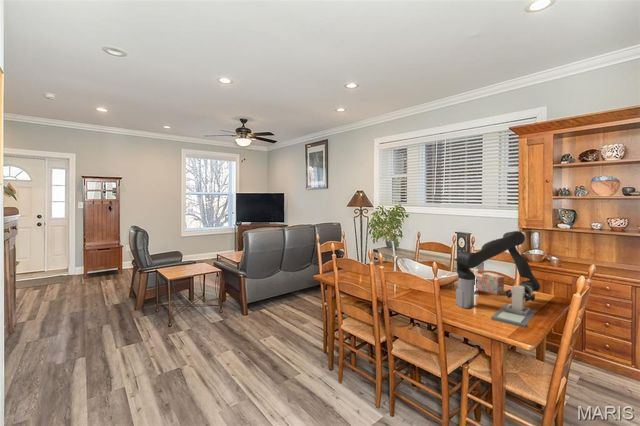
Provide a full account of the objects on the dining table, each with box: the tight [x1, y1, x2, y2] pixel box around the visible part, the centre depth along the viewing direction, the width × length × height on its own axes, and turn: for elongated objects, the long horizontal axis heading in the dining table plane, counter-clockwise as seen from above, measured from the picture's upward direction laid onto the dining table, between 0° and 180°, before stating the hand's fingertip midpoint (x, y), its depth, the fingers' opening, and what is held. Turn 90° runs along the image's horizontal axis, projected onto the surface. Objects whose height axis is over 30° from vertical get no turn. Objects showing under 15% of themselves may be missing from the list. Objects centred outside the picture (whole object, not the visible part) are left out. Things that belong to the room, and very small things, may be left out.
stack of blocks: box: [476, 272, 505, 296], centre depth 225 cm, size 21×6×12 cm, turn 23°
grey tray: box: [490, 303, 537, 329], centre depth 178 cm, size 28×16×3 cm, turn 136°
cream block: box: [511, 284, 525, 311], centre depth 182 cm, size 5×5×14 cm
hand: (517, 298), depth 180 cm, fingers open, 8 cm apart
